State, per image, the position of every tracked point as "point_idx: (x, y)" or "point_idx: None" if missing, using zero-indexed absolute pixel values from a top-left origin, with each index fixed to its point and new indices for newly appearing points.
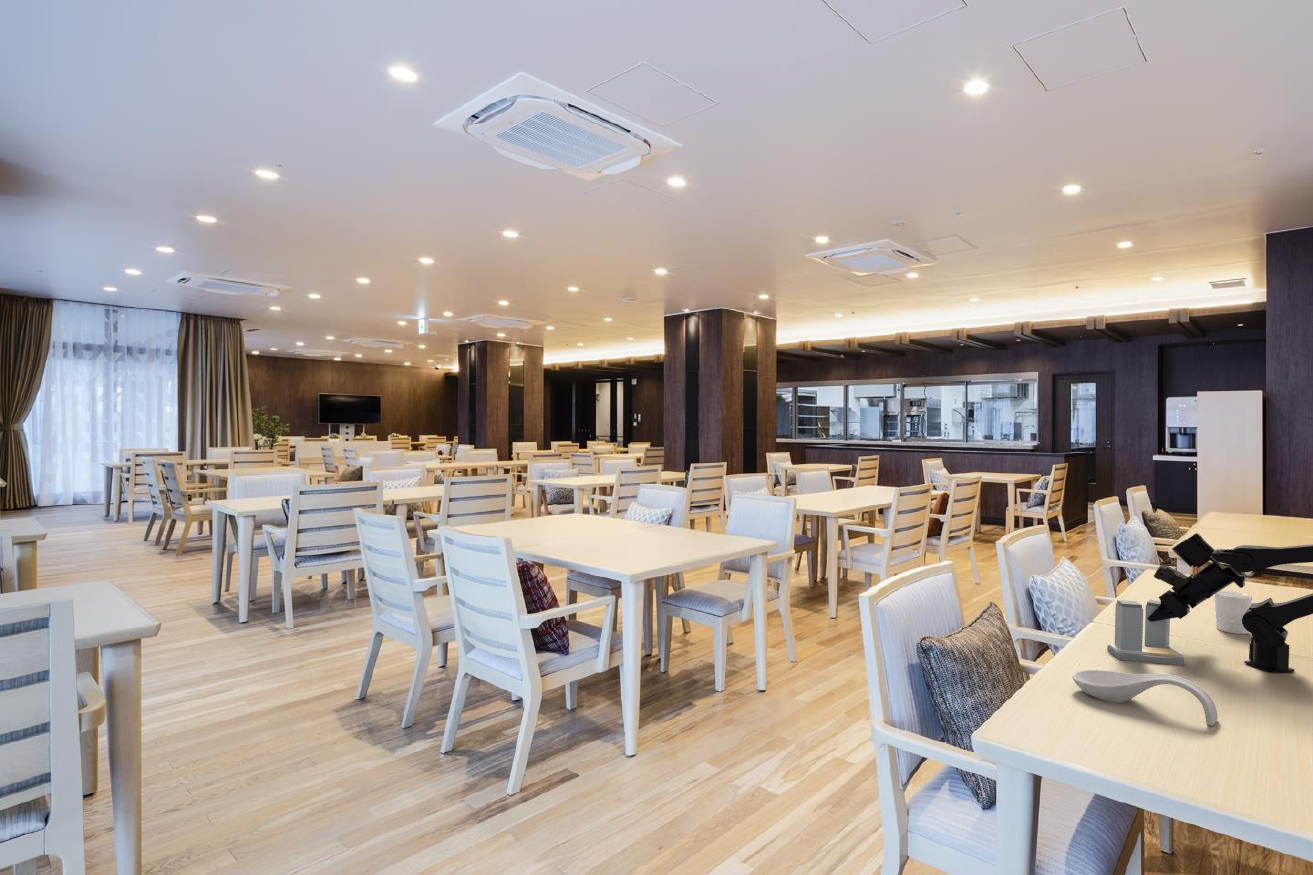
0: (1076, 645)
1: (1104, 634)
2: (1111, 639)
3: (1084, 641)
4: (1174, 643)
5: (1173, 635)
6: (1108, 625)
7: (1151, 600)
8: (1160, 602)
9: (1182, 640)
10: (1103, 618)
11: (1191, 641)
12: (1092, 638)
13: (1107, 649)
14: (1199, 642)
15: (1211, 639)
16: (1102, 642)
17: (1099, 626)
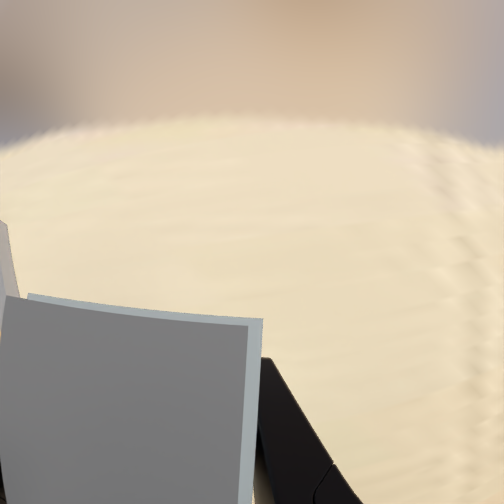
0: (26, 144)
1: (252, 165)
2: (177, 201)
3: (81, 142)
4: (336, 446)
5: (477, 396)
6: (424, 163)
7: (183, 357)
8: (128, 497)
9: (421, 451)
10: (490, 149)
11: (428, 477)
12: (142, 147)
13: (3, 224)
14: (431, 498)
15: (496, 495)
16: (101, 186)
17: (378, 138)
